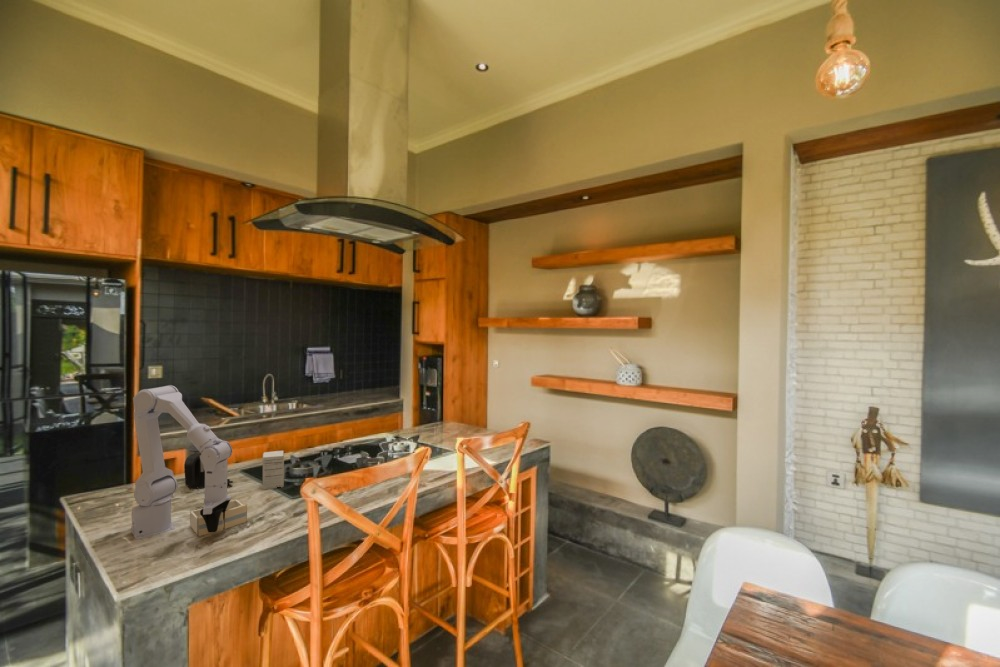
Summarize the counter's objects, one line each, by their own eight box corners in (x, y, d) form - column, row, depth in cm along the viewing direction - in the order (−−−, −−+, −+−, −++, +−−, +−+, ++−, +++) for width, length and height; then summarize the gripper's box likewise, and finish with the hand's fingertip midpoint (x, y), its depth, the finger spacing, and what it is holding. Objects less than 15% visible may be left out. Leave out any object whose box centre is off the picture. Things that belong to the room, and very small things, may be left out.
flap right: (246, 520, 141) (246, 503, 141) (247, 521, 141) (247, 504, 141) (223, 528, 136) (223, 510, 136) (225, 529, 135) (225, 511, 135)
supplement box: (263, 483, 174) (263, 452, 174) (284, 481, 177) (284, 450, 177) (262, 490, 168) (262, 457, 167) (283, 487, 171) (283, 455, 170)
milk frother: (191, 481, 175) (191, 445, 174) (237, 477, 181) (237, 441, 180) (181, 495, 162) (181, 455, 161) (230, 489, 168) (230, 451, 167)
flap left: (197, 536, 131) (197, 518, 130) (196, 535, 131) (196, 517, 131) (223, 530, 135) (223, 513, 134) (222, 529, 135) (222, 511, 135)
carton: (197, 536, 132) (197, 519, 132) (190, 527, 137) (190, 511, 137) (245, 521, 141) (245, 506, 141) (236, 514, 147) (236, 499, 147)
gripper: (223, 491, 126) (222, 538, 127) (238, 474, 140) (237, 516, 141) (194, 493, 124) (194, 540, 125) (213, 475, 138) (212, 518, 139)
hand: (215, 527), depth 133 cm, fingers open, 4 cm apart
